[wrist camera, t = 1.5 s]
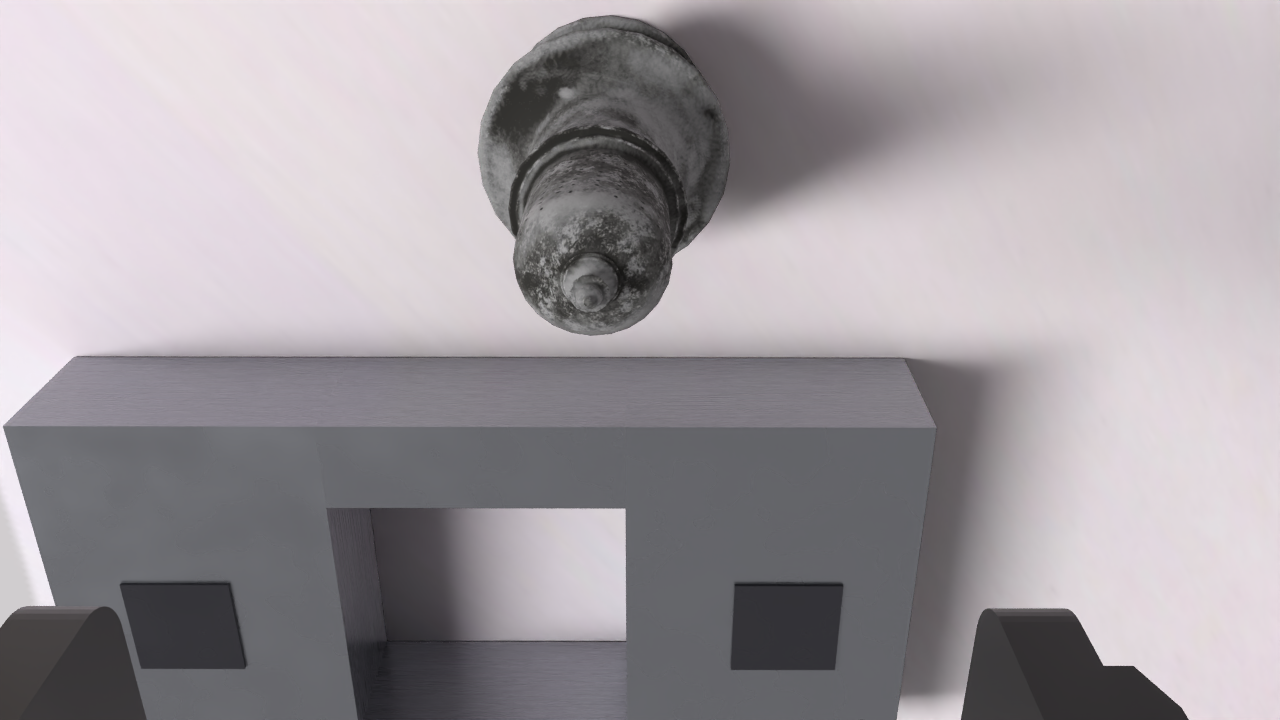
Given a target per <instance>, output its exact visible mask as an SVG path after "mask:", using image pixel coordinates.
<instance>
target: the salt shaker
mask: <svg viewBox="0 0 1280 720" xmlns="http://www.w3.org/2000/svg"><path fill="white" fill-rule="evenodd" d="M478 158H479V165H480V171H481V177H482V183H483V187H484V189H485V191H486V193H487V196H488V198H489V200H490V202H491V205H492V207H493V209H494V211H495V213H496V215H497V216H498V218H499V219H500V220H501V221H502V223H503V224H504V225H505V226H506V227H507V229H508V230H509V231H510V232H511V234H512V235H513V236H514V237H515V239H516V241H515V248H514V256H513V261H514V268H515V274H516V279H517V282H518V284H519V287H520V289H521V291H522V293H523V295H524V297H525V300H526V301H527V302H528V303H529V304H530V306H531V307H532V308H533V309H534V310H535V312H536V313H537V314H538V315H540V316H541V317H542V318H544V319H545V320H547V321H548V322H549V323H551V324H552V325H554V326H556V327H559V328H561V329H564V330H566V331H569V332H571V333H577V334H584V335H590V336H591V335H604V334H612V333H615V332H618V331H621V330H624V329H627V328H629V327H631V326H633V325H634V324H636V323H637V322H639V321H641V320H642V319H644V318H645V317H646V316H647V315H648V314H649V313H650V312H651V311H652V310H653V309H654V307H655V306H656V305H657V304H658V302H659V301H660V299H661V297H662V295H663V293H664V291H665V289H666V287H667V285H668V284H669V279H670V274H671V269H672V258H673V256H674V255H675V254H676V253H677V252H679V251H680V250H682V249H683V248H685V247H686V246H688V245H689V244H690V243H691V242H692V240H693V239H694V238H695V237H696V236H697V235H698V234H699V233H700V232H701V231H702V229H703V228H704V227H705V226H706V225H707V224H708V223H709V221H710V219H711V217H712V215H713V213H714V212H715V210H716V208H717V206H718V204H719V202H720V200H721V198H722V196H723V194H724V189H725V184H726V180H727V175H728V170H729V166H730V154H729V137H728V128H727V126H726V123H725V120H724V117H723V114H722V111H721V108H720V105H719V102H718V99H717V97H716V96H715V94H714V93H713V91H712V90H711V88H710V87H709V85H708V84H707V82H706V81H705V79H704V78H703V77H702V75H701V74H700V72H699V71H698V70H697V69H696V67H695V66H694V64H693V63H692V61H691V60H690V58H689V57H688V56H687V54H686V53H685V51H684V50H683V49H682V48H681V47H680V46H679V45H677V44H676V43H675V42H674V41H673V40H672V39H670V38H669V37H668V36H667V35H666V34H665V33H663V32H662V31H660V30H658V29H656V28H653V27H651V26H649V25H647V24H645V23H643V22H641V21H639V20H634V19H628V18H623V17H617V16H611V15H610V16H600V17H589V18H582V19H580V20H577V21H575V22H572V23H569V24H567V25H564V26H562V27H559V28H557V29H556V30H555V31H553V32H552V33H551V34H549V35H548V36H547V37H545V38H544V39H543V40H541V41H540V42H539V43H537V44H536V45H535V47H534V48H533V49H532V50H531V51H530V52H529V53H527V54H526V55H525V56H523V57H522V58H521V59H519V60H518V61H517V62H515V63H514V64H513V66H512V67H511V68H510V69H509V71H508V72H507V73H506V75H505V76H504V77H503V79H502V80H501V81H500V82H499V84H498V85H497V86H496V88H495V89H494V90H493V93H492V95H491V98H490V100H489V103H488V105H487V108H486V110H485V113H484V115H483V118H482V120H481V128H480V137H479V146H478Z"/></svg>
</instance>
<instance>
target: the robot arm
mask: <svg viewBox="0 0 1280 720" xmlns="http://www.w3.org/2000/svg"><path fill="white" fill-rule="evenodd" d="M0 720H147V719H146V715H145V711H144V707H143V704H142V700H141V696H140V692H139V688H138V685H137V681H136V677H135V673H134V669H133V666H132V662H131V658H130V654H129V650H128V647H127V643H126V639H125V635H124V631H123V628H122V624H121V621H120V619H119V617H118V615H117V614H116V612H115V611H114V610H113V609H111V608H110V607H106V606H26V607H22V608H20V609H18V610H17V611H15V612H14V613H12V615H10V617H9V618H8V619H7V620H6V621H5V623H4V624H3V625H2V627H1V628H0ZM961 720H1189V719H1188V718H1187V716H1186V714H1185V713H1184V711H1183V709H1182V708H1181V707H1180V706H1179V705H1178V704H1176V703H1175V702H1174V701H1173V700H1172V699H1171V698H1170V697H1168V696H1167V695H1166V694H1165V693H1164V692H1163V691H1161V690H1160V689H1159V688H1158V687H1157V686H1156V685H1155V684H1153V683H1152V682H1151V681H1150V680H1149V679H1148V678H1147V677H1145V676H1144V675H1143V674H1142V673H1141V672H1140V671H1138V670H1137V669H1136V668H1135V667H1134V666H1103V664H1102V662H1101V661H1100V659H1099V657H1098V655H1097V653H1096V651H1095V649H1094V648H1093V646H1092V644H1091V642H1090V640H1089V638H1088V636H1087V635H1086V633H1085V631H1084V629H1083V627H1082V625H1081V623H1080V622H1079V620H1078V618H1077V617H1076V615H1075V614H1074V613H1073V612H1072V611H1070V610H1069V609H985V610H984V611H983V612H982V614H981V616H980V618H979V621H978V625H977V630H976V636H975V642H974V647H973V653H972V659H971V665H970V670H969V676H968V682H967V688H966V693H965V699H964V705H963V711H962V716H961Z"/></svg>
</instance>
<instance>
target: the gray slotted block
mask: <svg viewBox="0 0 1280 720" xmlns="http://www.w3.org/2000/svg"><path fill="white" fill-rule="evenodd" d="M3 428H4V431H5V435H6V438H7V442H8V445H9V448H10V452H11V455H12V459H13V462H14V466H15V469H16V472H17V476H18V479H19V483H20V486H21V489H22V493H23V496H24V500H25V503H26V506H27V510H28V513H29V517H30V520H31V523H32V527H33V530H34V534H35V537H36V541H37V544H38V547H39V551H40V554H41V558H42V561H43V564H44V568H45V571H46V575H47V578H48V581H49V585H50V588H51V592H52V595H53V599H54V602H55V605H56V606H106V607H110V608H111V609H113V610H114V611H115V612H116V614H117V615H118V617H119V619H120V621H121V624H122V628H123V631H124V635H125V639H126V643H127V647H128V650H129V654H130V658H131V662H132V666H133V669H134V673H135V677H136V681H137V685H138V688H139V692H140V696H141V700H142V704H143V707H144V711H145V715H146V719H147V720H897V712H898V705H899V698H900V691H901V683H902V676H903V669H904V662H905V654H906V647H907V640H908V633H909V625H910V618H911V611H912V604H913V596H914V589H915V582H916V575H917V567H918V560H919V553H920V546H921V538H922V531H923V524H924V517H925V509H926V502H927V495H928V488H929V480H930V473H931V466H932V459H933V451H934V444H935V437H936V430H937V427H936V425H935V423H934V421H933V419H932V416H931V414H930V412H929V410H928V408H927V406H926V404H925V402H924V400H923V397H922V395H921V393H920V391H919V389H918V387H917V385H916V383H915V381H914V378H913V376H912V374H911V372H910V370H909V368H908V366H907V364H906V361H905V359H904V358H361V357H74V358H73V359H72V360H71V361H69V362H68V363H67V364H66V365H65V366H64V367H63V368H62V369H61V370H60V371H59V372H58V373H57V374H56V375H55V376H54V377H53V378H52V379H51V380H50V381H49V382H48V383H47V384H46V385H45V386H44V387H43V388H42V389H41V390H40V391H39V392H38V393H37V394H35V395H34V396H33V397H32V398H31V399H30V400H29V401H28V402H27V403H26V404H25V405H24V406H23V407H22V408H21V409H20V410H19V411H18V412H17V413H16V414H15V415H14V416H13V417H12V418H11V419H10V420H9V421H8V422H7V423H6V424H5V425H4V426H3ZM370 508H626V636H627V642H395V641H387V637H386V629H385V622H384V614H383V606H382V598H381V591H380V583H379V575H378V567H377V559H376V552H375V544H374V536H373V528H372V521H371V513H370Z"/></svg>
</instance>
